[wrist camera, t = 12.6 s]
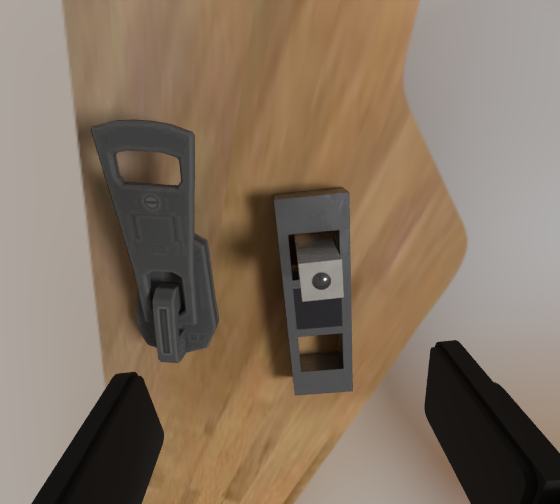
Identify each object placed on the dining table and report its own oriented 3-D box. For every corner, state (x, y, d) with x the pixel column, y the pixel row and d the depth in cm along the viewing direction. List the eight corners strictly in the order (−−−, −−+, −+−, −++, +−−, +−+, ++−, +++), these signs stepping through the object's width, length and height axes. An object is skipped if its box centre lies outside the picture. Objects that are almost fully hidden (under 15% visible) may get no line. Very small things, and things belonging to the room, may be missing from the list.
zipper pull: (199, 123, 22) (207, 383, 31) (216, 126, 29) (219, 342, 38) (78, 115, 22) (120, 378, 31) (122, 120, 28) (147, 338, 37)
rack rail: (274, 194, 31) (273, 200, 28) (343, 187, 31) (349, 192, 28) (293, 376, 39) (294, 395, 36) (347, 372, 39) (352, 391, 36)
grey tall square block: (294, 234, 32) (298, 264, 25) (327, 230, 32) (342, 259, 25) (297, 265, 34) (302, 302, 26) (329, 261, 33) (343, 297, 26)
